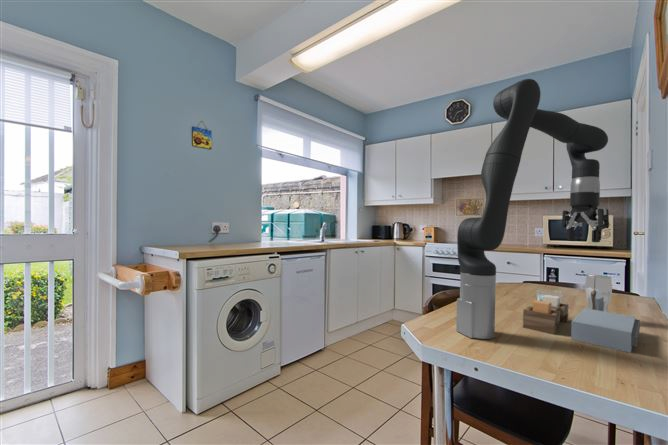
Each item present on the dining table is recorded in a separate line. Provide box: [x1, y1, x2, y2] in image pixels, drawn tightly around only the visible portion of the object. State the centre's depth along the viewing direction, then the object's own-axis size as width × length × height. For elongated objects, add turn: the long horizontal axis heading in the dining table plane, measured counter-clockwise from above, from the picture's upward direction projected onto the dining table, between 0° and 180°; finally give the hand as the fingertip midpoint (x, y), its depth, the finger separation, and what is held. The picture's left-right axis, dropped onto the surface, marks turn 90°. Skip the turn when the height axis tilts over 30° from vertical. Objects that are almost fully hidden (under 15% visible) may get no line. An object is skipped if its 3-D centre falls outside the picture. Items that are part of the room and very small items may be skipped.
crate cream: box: [542, 294, 561, 309], centre depth 104 cm, size 4×4×4 cm
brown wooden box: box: [522, 299, 569, 335], centre depth 99 cm, size 20×8×6 cm, turn 134°
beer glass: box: [584, 274, 613, 312], centre depth 106 cm, size 7×7×15 cm
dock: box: [570, 307, 641, 354], centre depth 89 cm, size 22×13×5 cm, turn 134°
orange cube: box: [532, 299, 551, 314], centre depth 95 cm, size 4×4×4 cm
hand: (583, 241), depth 101 cm, fingers open, 8 cm apart
